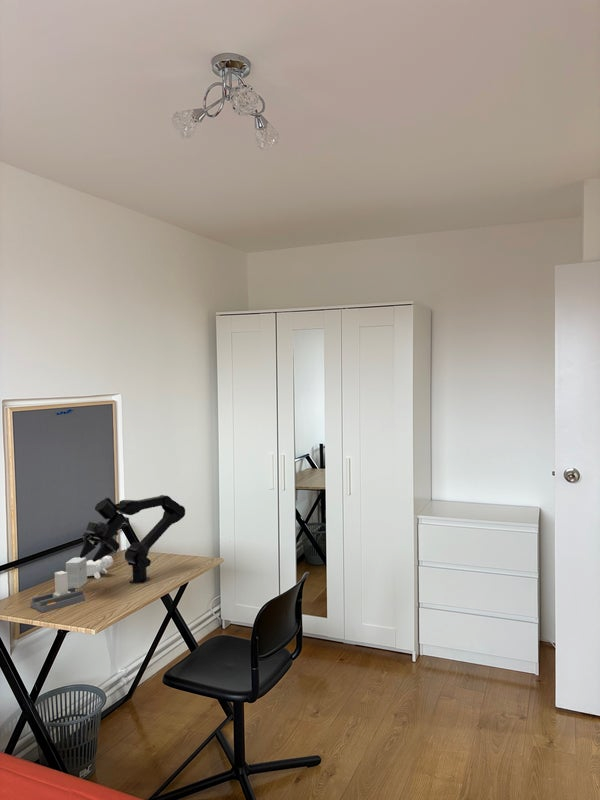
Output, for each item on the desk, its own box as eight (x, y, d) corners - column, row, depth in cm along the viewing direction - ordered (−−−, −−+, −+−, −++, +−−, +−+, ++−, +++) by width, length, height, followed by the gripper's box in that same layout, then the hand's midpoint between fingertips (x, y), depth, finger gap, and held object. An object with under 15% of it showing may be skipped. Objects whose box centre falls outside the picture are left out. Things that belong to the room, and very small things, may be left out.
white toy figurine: (80, 586, 258) (112, 573, 256) (73, 567, 258) (104, 554, 257) (89, 580, 266) (120, 567, 265) (82, 562, 267) (112, 549, 265)
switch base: (72, 595, 236) (71, 586, 236) (84, 600, 230) (84, 591, 230) (30, 606, 225) (30, 597, 225) (43, 612, 218) (42, 602, 218)
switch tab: (65, 593, 231) (64, 570, 231) (70, 595, 229) (69, 572, 229) (52, 597, 228) (51, 573, 228) (57, 599, 225) (56, 575, 225)
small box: (74, 582, 253) (73, 557, 253) (87, 582, 253) (86, 557, 253) (65, 588, 245) (65, 562, 245) (79, 588, 245) (78, 562, 245)
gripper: (86, 511, 245) (60, 543, 237) (112, 516, 233) (86, 550, 225) (104, 528, 251) (79, 560, 242) (130, 534, 239) (105, 567, 230)
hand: (86, 559), depth 235 cm, fingers open, 9 cm apart
